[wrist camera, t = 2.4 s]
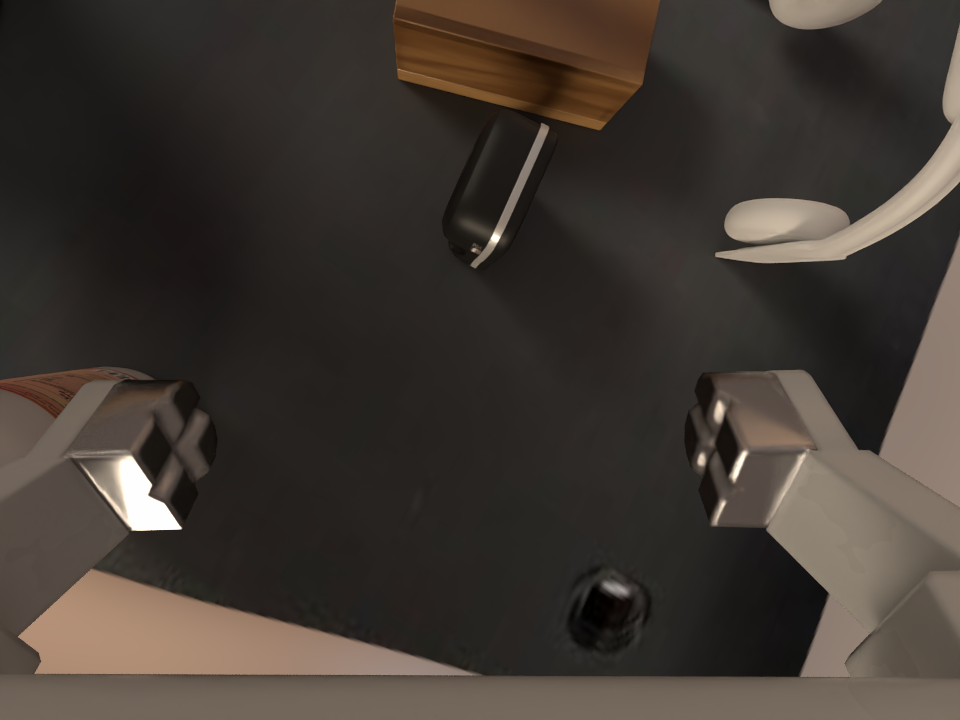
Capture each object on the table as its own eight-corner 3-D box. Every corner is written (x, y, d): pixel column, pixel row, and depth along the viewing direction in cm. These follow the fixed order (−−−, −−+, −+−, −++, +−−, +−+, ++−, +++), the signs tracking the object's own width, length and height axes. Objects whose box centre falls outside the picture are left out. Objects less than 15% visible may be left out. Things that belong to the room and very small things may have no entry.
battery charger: (474, 156, 38) (497, 84, 27) (524, 181, 38) (568, 121, 27) (431, 251, 38) (436, 219, 27) (482, 275, 38) (509, 254, 27)
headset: (774, 282, 41) (1046, 249, 23) (682, 264, 40) (891, 216, 22) (828, 1, 40) (1155, -256, 22) (735, -23, 39) (998, -310, 21)
